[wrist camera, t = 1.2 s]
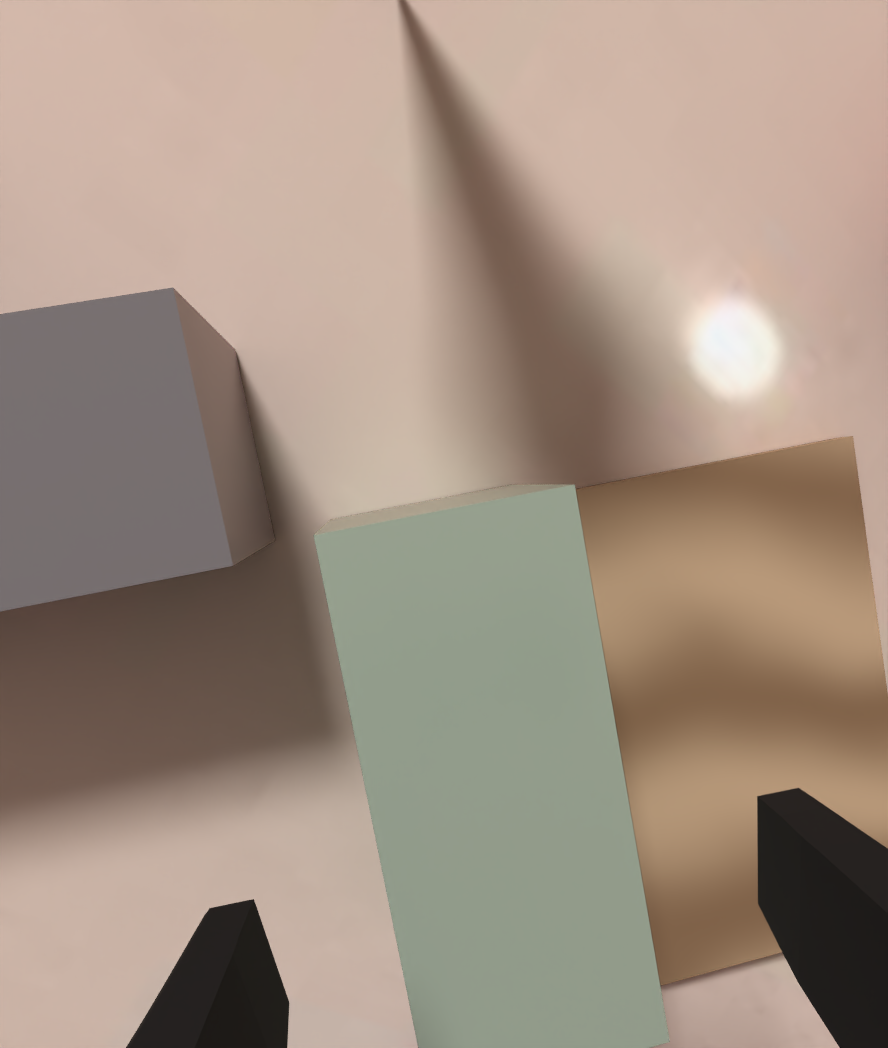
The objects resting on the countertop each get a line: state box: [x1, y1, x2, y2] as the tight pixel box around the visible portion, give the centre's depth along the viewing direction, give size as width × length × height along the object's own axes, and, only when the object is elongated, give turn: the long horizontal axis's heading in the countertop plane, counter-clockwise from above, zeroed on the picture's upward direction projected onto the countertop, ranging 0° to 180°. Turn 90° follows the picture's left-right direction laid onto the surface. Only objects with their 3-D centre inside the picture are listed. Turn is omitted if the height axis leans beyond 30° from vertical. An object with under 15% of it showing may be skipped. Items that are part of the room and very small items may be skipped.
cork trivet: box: [576, 436, 888, 986], centre depth 21 cm, size 16×9×1 cm, turn 11°
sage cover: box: [314, 484, 670, 1048], centre depth 17 cm, size 13×6×6 cm, turn 11°
